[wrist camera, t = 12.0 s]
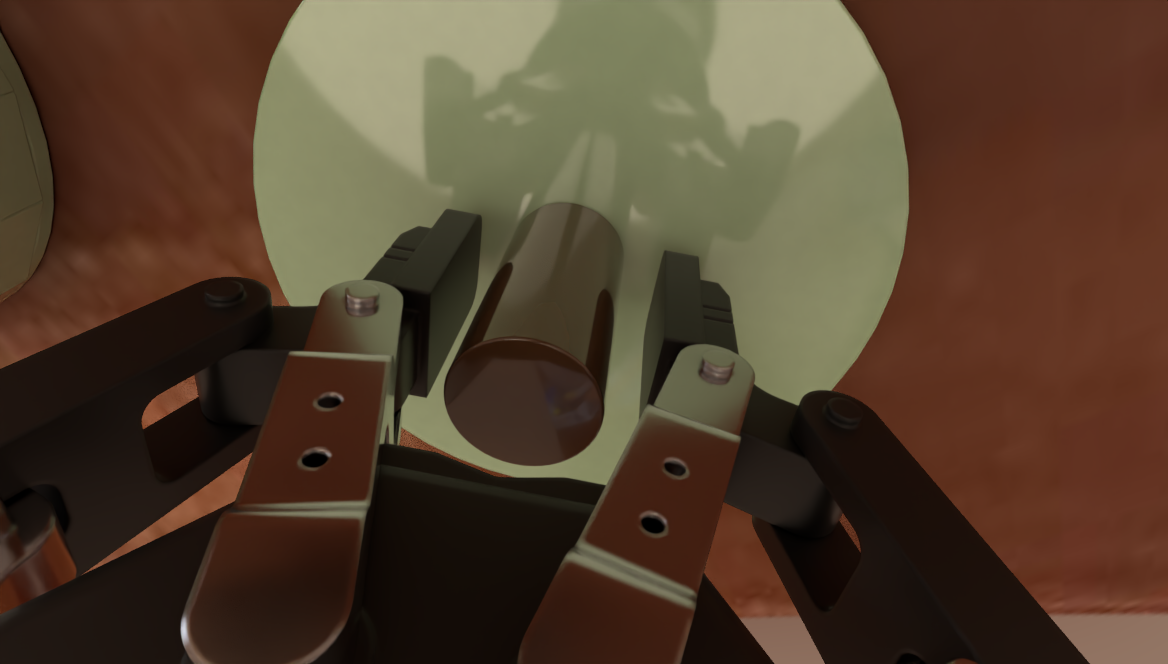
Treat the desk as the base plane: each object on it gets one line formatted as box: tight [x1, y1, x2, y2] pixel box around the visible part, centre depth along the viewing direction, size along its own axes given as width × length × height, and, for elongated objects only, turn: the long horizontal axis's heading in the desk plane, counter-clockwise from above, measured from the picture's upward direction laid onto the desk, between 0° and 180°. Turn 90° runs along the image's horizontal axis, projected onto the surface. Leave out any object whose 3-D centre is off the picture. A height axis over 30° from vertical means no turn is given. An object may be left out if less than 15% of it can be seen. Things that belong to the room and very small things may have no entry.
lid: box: [253, 0, 909, 485], centre depth 13 cm, size 15×15×7 cm
